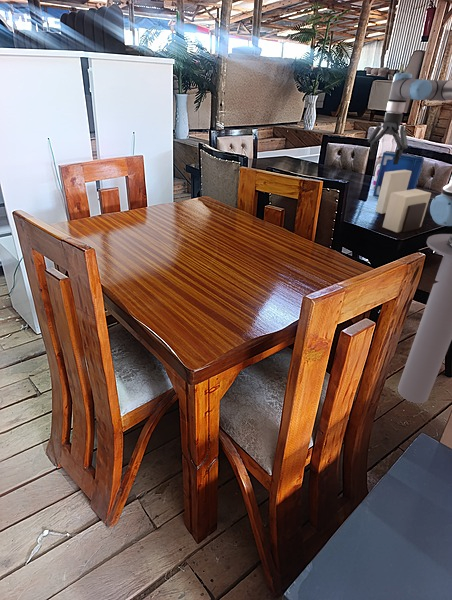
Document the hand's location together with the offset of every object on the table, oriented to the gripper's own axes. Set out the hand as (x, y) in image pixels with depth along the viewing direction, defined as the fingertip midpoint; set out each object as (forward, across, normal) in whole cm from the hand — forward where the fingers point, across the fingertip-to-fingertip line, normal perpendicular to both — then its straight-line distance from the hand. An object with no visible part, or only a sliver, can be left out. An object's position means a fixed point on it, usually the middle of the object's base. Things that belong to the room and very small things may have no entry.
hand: (383, 161), depth 190 cm
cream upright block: (+26, -21, +4) cm, 33 cm away
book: (+26, +12, -35) cm, 45 cm away
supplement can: (+26, +30, -46) cm, 60 cm away
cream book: (+26, -1, -13) cm, 29 cm away
